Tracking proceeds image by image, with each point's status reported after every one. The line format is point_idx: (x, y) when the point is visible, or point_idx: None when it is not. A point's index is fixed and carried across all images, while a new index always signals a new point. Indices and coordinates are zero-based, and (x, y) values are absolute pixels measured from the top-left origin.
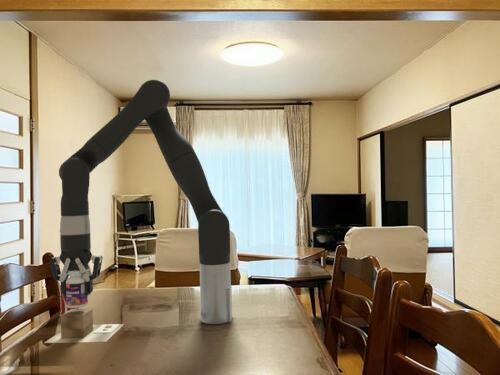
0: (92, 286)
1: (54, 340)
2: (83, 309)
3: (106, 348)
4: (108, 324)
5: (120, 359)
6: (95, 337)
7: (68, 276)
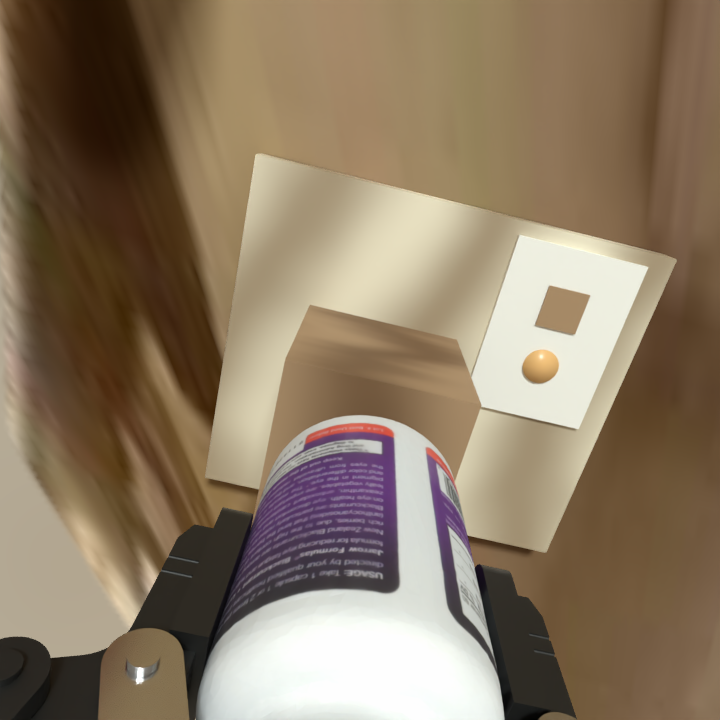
0: (551, 661)
1: (252, 455)
2: (402, 405)
3: (541, 559)
4: (562, 251)
5: (600, 684)
6: (484, 476)
7: (185, 713)
